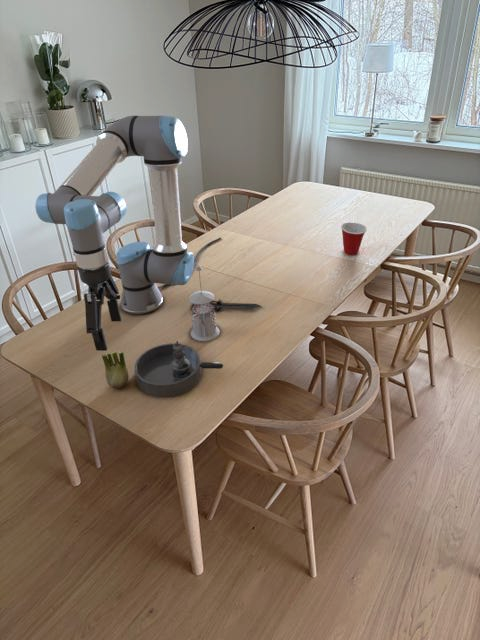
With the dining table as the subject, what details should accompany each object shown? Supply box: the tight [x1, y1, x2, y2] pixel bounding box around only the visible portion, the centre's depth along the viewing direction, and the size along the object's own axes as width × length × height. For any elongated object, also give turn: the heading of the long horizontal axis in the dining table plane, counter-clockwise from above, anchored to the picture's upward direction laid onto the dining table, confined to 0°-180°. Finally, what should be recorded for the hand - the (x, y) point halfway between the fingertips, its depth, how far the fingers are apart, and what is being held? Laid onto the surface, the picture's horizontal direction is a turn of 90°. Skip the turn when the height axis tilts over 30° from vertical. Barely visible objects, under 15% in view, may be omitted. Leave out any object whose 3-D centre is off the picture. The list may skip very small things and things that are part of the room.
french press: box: [188, 265, 220, 342], centre depth 151 cm, size 10×12×25 cm
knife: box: [191, 299, 263, 313], centre depth 170 cm, size 25×6×1 cm, turn 78°
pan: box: [134, 343, 203, 398], centre depth 140 cm, size 19×19×4 cm
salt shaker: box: [170, 340, 191, 379], centre depth 137 cm, size 6×6×12 cm
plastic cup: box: [340, 221, 368, 256], centre depth 200 cm, size 11×11×12 cm
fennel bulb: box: [101, 350, 129, 389], centre depth 134 cm, size 6×5×12 cm
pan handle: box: [200, 361, 224, 370], centre depth 138 cm, size 7×2×2 cm, turn 86°
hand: (109, 334), depth 128 cm, fingers open, 13 cm apart
